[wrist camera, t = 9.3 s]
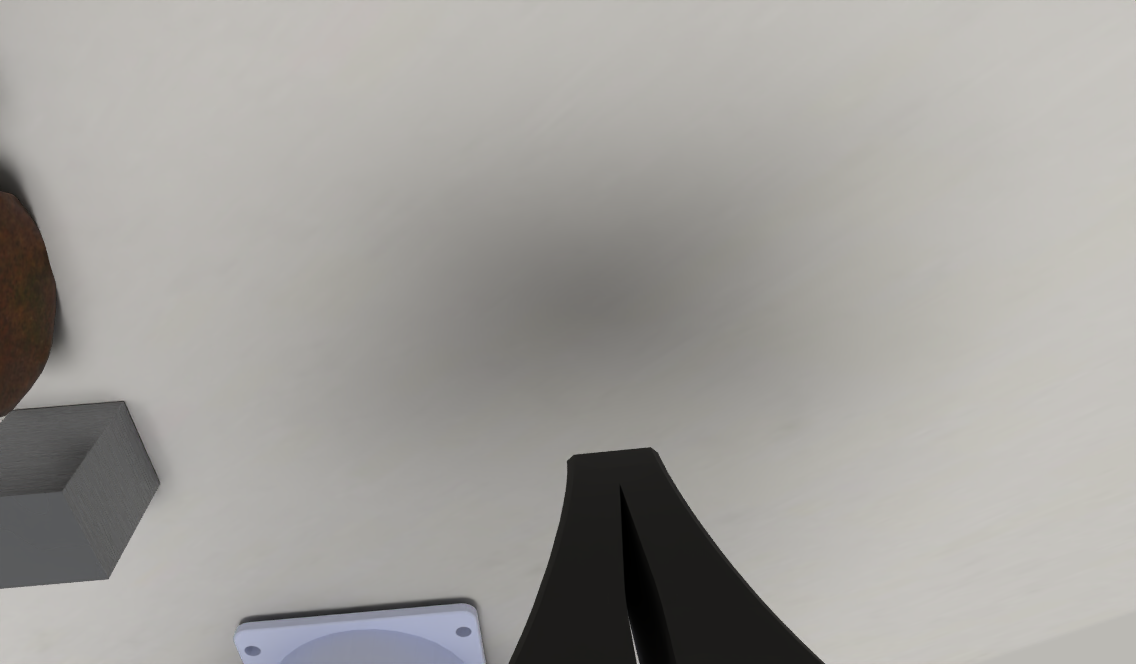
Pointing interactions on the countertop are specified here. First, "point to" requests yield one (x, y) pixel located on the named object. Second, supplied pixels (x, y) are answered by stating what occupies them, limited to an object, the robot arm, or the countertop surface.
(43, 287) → the bolt
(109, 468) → the gray stone cubes
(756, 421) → the countertop surface
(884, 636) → the countertop surface
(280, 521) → the countertop surface
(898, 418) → the countertop surface
